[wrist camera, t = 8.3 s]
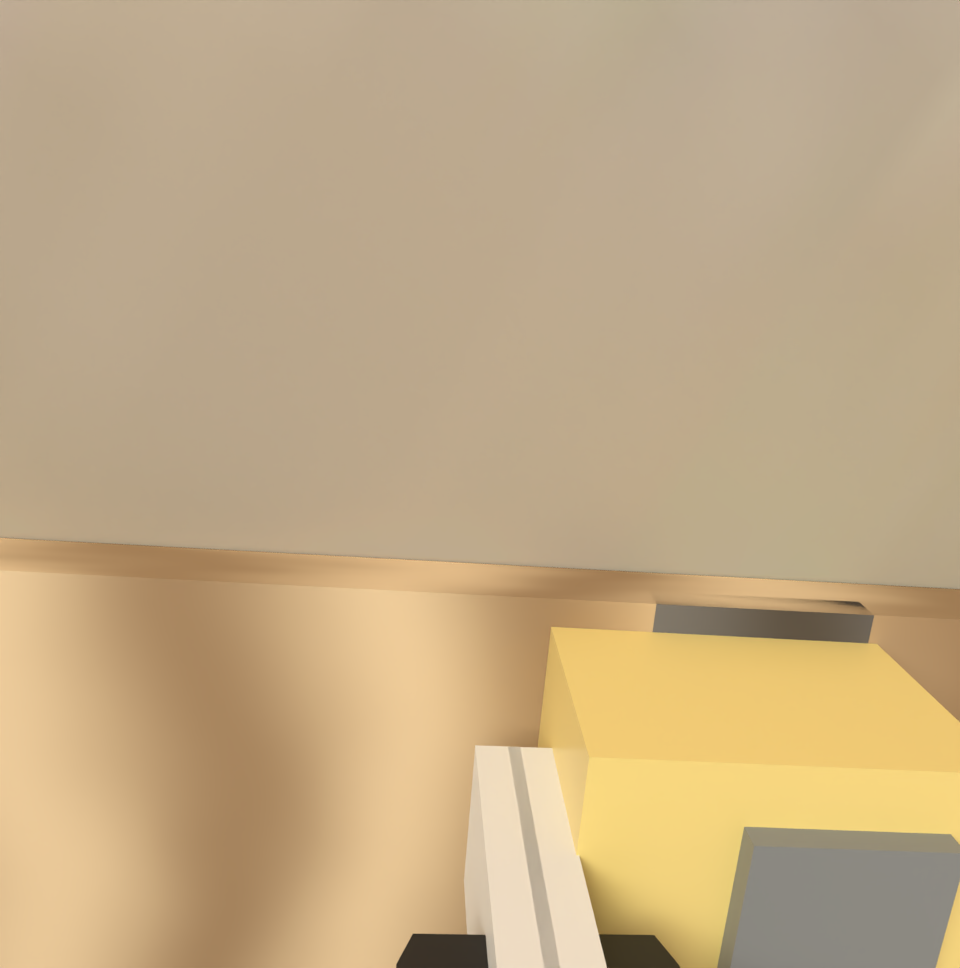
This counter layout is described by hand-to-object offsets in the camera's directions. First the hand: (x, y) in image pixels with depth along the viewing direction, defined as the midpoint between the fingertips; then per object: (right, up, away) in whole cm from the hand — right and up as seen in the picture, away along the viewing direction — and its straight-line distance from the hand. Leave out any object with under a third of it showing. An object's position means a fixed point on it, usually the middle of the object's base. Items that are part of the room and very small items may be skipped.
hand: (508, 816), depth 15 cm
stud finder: (+4, 0, +2) cm, 4 cm away
